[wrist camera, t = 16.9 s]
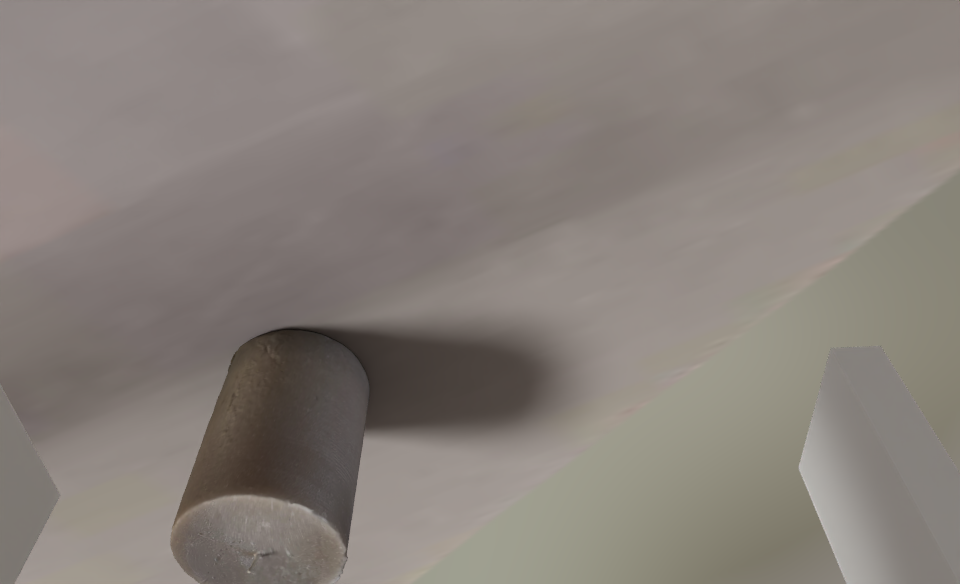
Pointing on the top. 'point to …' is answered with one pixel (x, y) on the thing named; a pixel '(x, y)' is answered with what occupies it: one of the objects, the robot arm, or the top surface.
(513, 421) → the top surface
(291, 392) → the pillar candle
